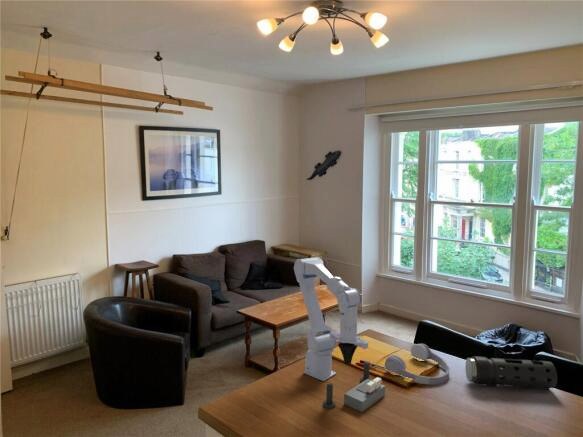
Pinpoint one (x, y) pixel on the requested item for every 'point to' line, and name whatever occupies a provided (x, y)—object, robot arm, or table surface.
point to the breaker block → (364, 395)
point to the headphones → (421, 352)
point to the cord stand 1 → (329, 397)
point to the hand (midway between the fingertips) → (347, 363)
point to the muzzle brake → (511, 372)
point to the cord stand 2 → (366, 372)
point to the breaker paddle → (370, 386)
